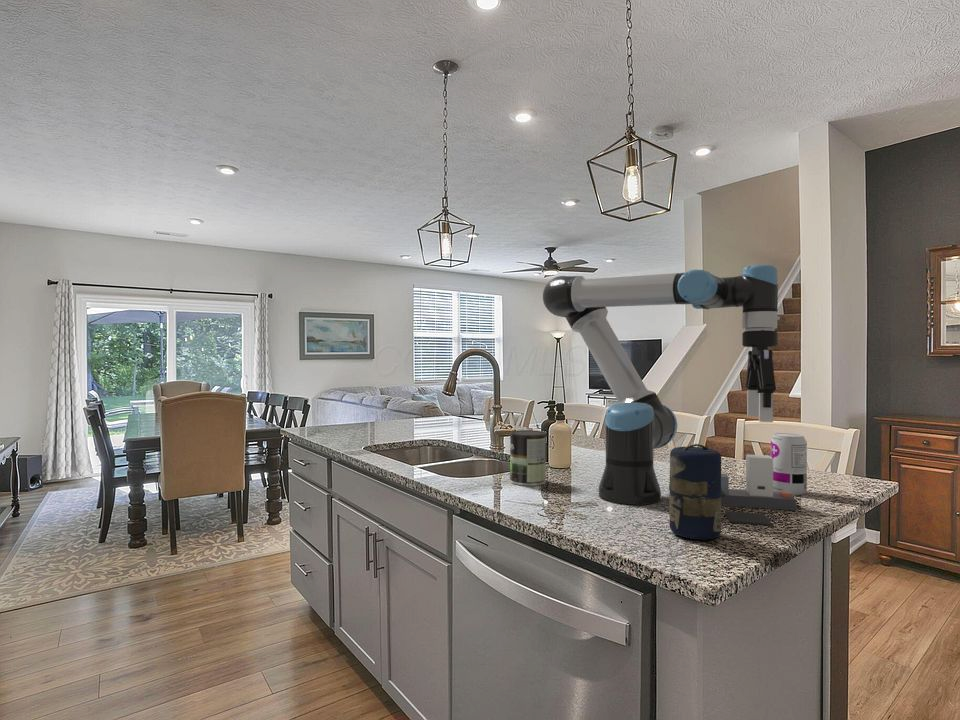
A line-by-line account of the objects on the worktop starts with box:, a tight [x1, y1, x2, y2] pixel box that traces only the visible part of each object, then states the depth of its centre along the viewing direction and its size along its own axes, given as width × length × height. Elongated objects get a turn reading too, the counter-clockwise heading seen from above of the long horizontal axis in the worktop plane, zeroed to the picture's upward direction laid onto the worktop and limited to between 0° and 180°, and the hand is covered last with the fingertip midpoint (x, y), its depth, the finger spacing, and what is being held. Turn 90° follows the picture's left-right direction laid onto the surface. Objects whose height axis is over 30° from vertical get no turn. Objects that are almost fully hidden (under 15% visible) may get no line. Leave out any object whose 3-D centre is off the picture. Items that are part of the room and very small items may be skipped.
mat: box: [724, 510, 773, 527], centre depth 117 cm, size 8×8×1 cm
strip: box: [721, 473, 797, 511], centre depth 129 cm, size 26×10×6 cm, turn 73°
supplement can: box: [770, 432, 808, 496], centre depth 142 cm, size 8×8×15 cm
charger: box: [745, 454, 774, 497], centre depth 129 cm, size 5×4×10 cm
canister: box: [668, 443, 722, 541], centre depth 106 cm, size 10×10×18 cm
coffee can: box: [509, 429, 547, 487], centre depth 153 cm, size 10×10×14 cm
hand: (759, 418), depth 129 cm, fingers open, 13 cm apart
